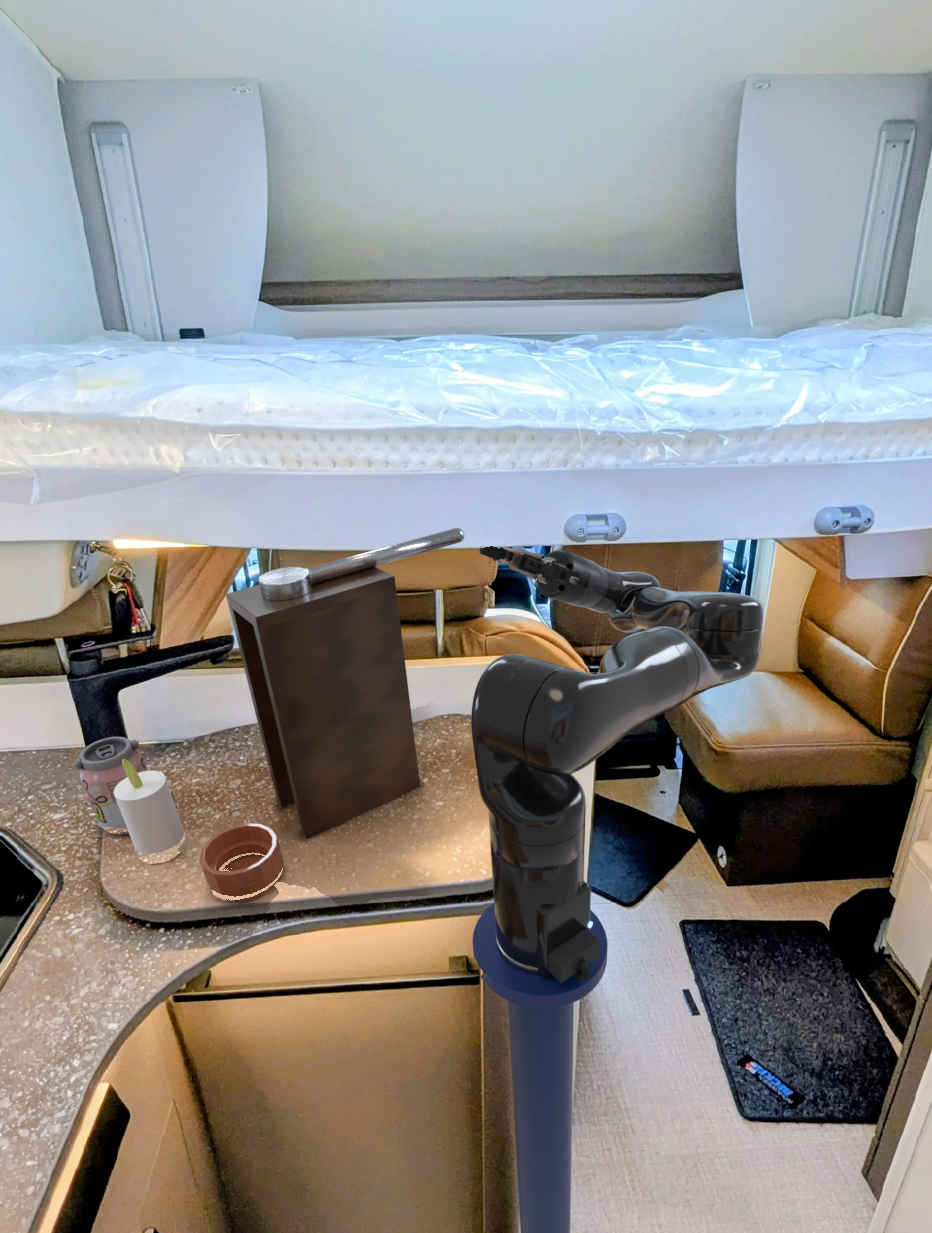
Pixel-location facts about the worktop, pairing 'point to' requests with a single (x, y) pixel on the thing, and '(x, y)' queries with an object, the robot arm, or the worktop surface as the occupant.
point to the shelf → (330, 695)
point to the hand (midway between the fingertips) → (500, 553)
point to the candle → (149, 810)
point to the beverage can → (107, 775)
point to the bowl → (242, 860)
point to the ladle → (348, 565)
